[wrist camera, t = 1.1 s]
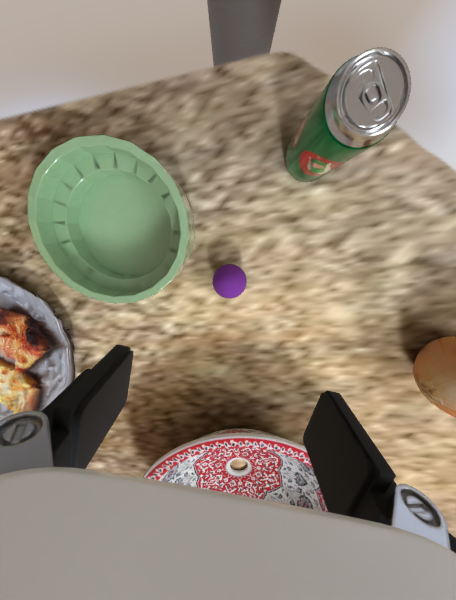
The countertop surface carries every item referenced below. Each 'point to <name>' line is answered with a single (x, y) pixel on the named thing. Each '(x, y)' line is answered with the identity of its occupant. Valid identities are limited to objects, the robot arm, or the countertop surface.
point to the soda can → (350, 113)
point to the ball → (229, 281)
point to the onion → (438, 373)
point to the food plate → (31, 352)
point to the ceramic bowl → (255, 477)
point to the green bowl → (109, 219)
